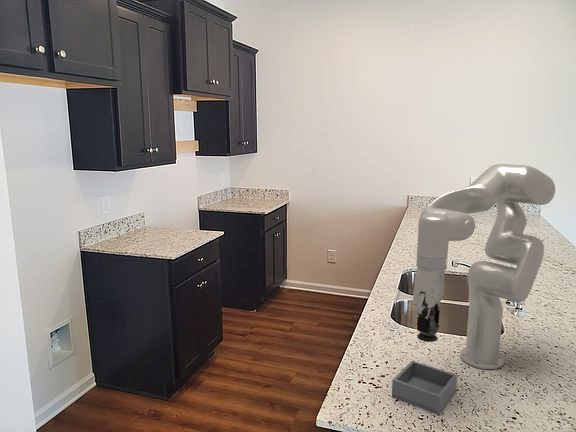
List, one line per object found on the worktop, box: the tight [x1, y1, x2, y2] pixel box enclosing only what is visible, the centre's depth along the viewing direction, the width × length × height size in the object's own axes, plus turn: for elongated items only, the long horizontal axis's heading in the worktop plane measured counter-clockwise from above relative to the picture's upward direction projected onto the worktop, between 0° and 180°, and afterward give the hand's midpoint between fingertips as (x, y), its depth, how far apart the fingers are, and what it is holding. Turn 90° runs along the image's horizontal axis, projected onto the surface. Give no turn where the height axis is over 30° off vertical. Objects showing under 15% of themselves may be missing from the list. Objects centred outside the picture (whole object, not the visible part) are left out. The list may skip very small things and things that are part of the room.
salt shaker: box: [416, 303, 440, 343], centre depth 119 cm, size 6×6×12 cm
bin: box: [391, 360, 458, 416], centre depth 123 cm, size 13×13×5 cm
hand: (427, 326), depth 119 cm, fingers closed on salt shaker, 5 cm apart
